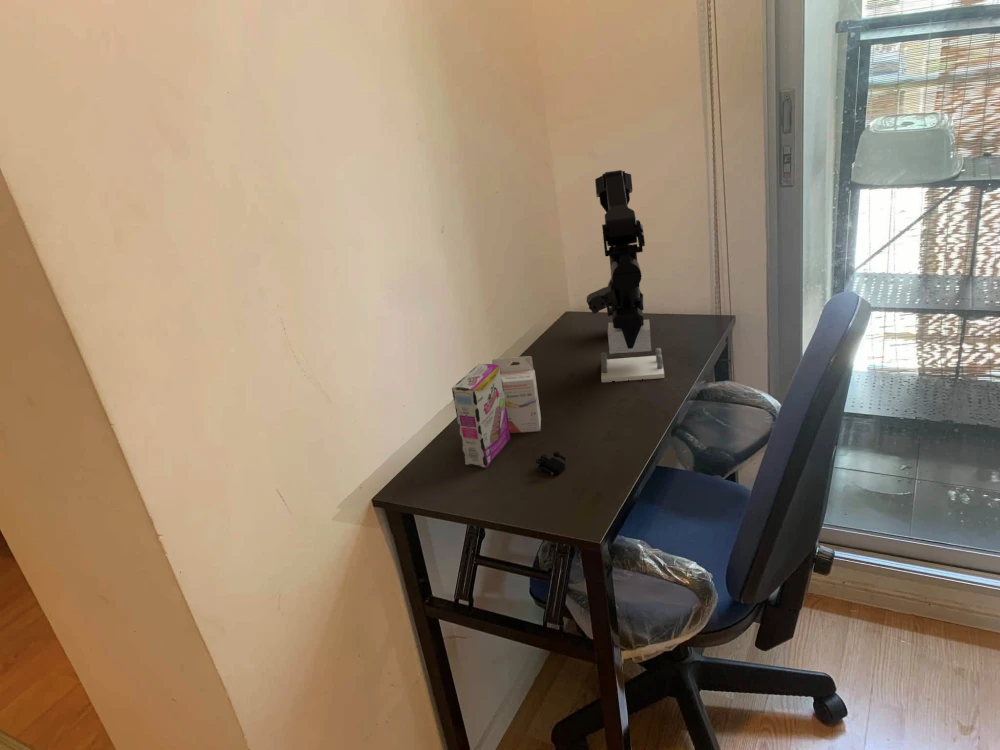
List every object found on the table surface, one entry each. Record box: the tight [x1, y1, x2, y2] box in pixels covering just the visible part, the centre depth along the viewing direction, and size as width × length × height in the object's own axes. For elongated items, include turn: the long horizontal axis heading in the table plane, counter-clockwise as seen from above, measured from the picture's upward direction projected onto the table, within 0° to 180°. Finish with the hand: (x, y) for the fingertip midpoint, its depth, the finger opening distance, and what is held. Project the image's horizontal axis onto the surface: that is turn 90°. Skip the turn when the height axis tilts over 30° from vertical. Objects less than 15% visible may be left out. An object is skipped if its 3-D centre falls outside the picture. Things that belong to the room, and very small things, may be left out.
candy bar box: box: [451, 363, 511, 469], centre depth 131 cm, size 11×5×16 cm, turn 155°
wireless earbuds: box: [535, 450, 568, 476], centre depth 125 cm, size 7×2×5 cm
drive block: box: [607, 319, 652, 355], centre depth 154 cm, size 6×9×5 cm, turn 80°
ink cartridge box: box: [491, 355, 542, 434], centre depth 138 cm, size 9×5×15 cm, turn 84°
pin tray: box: [600, 347, 665, 383], centre depth 156 cm, size 10×14×4 cm
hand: (629, 342), depth 155 cm, fingers closed on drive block, 6 cm apart
